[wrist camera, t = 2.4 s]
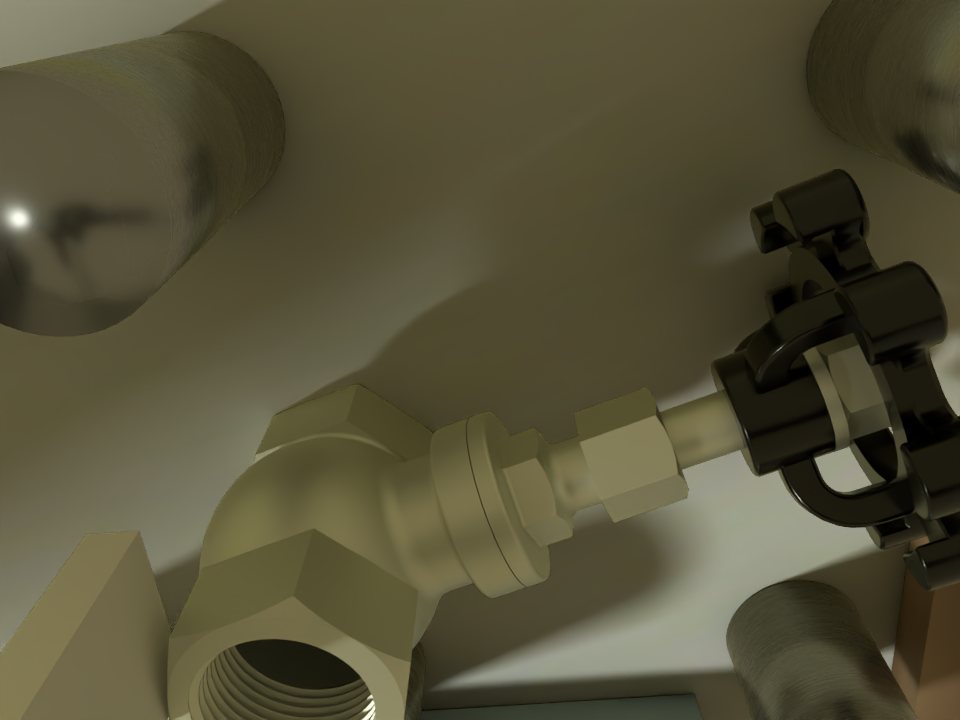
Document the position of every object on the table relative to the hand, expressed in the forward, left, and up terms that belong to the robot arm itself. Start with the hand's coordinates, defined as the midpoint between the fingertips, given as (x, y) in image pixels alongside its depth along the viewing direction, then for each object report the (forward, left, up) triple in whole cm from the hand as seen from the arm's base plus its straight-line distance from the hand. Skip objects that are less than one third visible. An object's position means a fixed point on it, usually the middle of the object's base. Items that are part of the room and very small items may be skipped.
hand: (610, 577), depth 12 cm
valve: (-1, 0, -6) cm, 6 cm away
